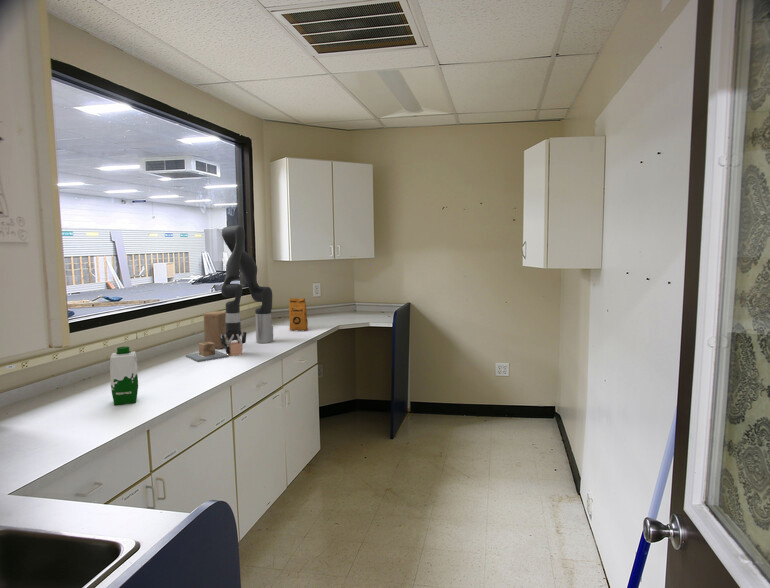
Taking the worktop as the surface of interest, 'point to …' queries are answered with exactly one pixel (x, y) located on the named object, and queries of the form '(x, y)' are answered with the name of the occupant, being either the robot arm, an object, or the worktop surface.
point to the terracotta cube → (235, 348)
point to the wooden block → (215, 327)
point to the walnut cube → (207, 349)
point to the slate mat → (204, 358)
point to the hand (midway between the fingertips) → (234, 352)
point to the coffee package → (298, 314)
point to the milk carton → (124, 376)
